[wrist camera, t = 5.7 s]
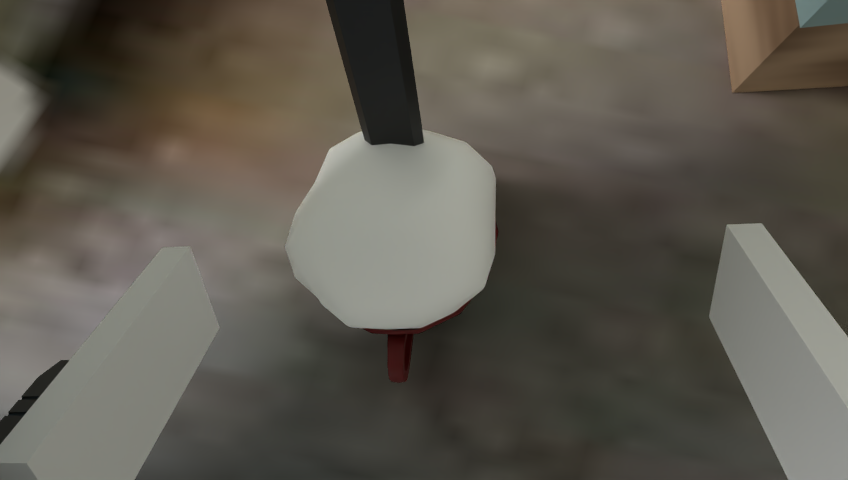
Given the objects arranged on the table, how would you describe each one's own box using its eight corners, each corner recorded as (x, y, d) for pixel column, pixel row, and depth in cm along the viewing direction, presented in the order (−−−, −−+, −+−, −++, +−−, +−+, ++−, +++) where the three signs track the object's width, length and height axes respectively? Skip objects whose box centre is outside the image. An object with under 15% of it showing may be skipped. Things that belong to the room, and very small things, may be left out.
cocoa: (441, 389, 22) (402, 485, 10) (285, 319, 22) (72, 328, 10) (541, 150, 22) (621, -35, 10) (387, 89, 23) (297, -147, 11)
